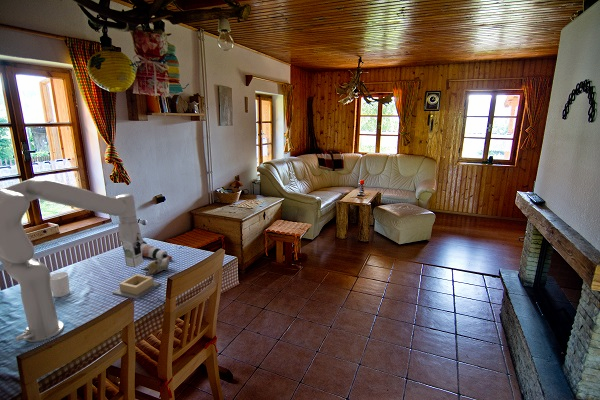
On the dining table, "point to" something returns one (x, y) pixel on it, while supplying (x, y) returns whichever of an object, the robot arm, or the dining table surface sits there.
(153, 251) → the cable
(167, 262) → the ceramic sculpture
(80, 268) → the dining table surface
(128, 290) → the socket
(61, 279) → the white cup
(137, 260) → the syrup box
